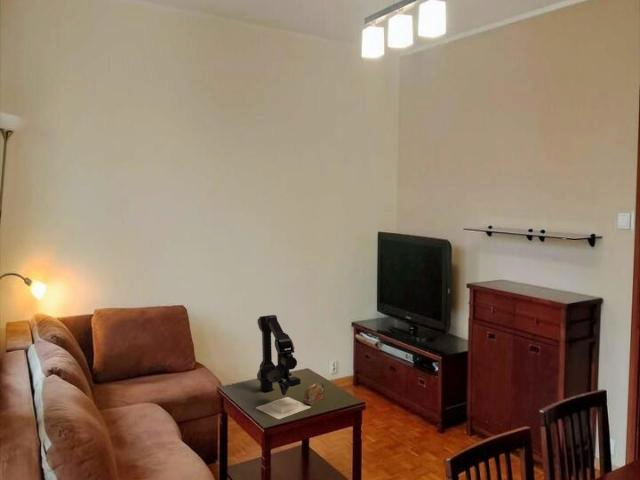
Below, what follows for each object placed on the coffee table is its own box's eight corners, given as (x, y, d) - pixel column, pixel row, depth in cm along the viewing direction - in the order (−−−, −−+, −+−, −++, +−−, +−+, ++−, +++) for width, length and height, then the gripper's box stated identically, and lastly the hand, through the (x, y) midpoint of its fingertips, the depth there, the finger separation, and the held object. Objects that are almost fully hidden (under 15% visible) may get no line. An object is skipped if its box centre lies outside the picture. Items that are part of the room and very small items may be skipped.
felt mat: (255, 408, 255) (255, 407, 255) (287, 397, 268) (287, 396, 268) (278, 420, 241) (278, 419, 241) (311, 407, 255) (311, 407, 255)
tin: (308, 407, 256) (308, 390, 255) (303, 406, 257) (303, 389, 257) (324, 397, 269) (324, 381, 268) (319, 396, 270) (319, 379, 269)
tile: (271, 402, 253) (282, 407, 247) (287, 397, 260) (298, 401, 254) (271, 408, 253) (282, 413, 247) (288, 403, 260) (298, 407, 254)
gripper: (258, 362, 254) (258, 394, 255) (282, 371, 240) (282, 405, 242) (276, 357, 261) (276, 388, 263) (301, 366, 248) (301, 398, 249)
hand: (283, 395), depth 254 cm, fingers closed
